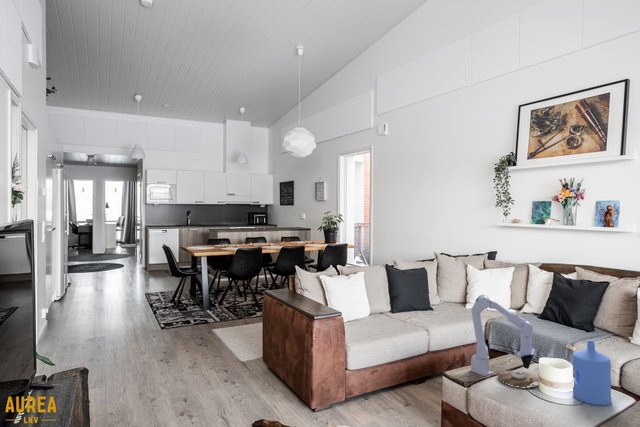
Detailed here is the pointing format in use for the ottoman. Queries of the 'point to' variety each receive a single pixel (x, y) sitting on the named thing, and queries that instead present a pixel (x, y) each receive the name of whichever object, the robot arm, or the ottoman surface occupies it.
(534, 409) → the ottoman surface
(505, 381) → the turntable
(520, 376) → the cover
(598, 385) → the water jug
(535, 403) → the ottoman surface
